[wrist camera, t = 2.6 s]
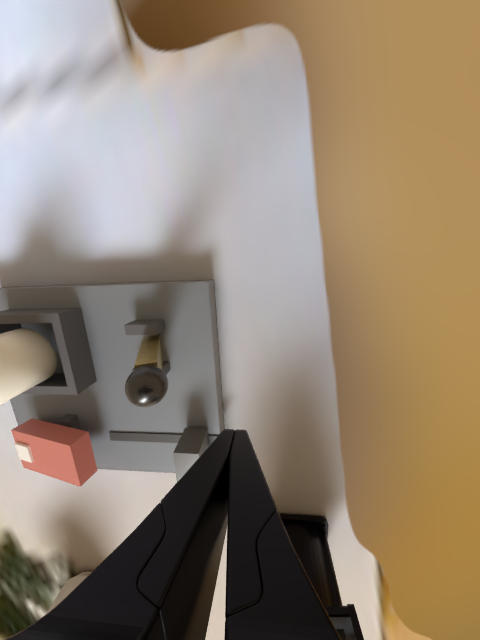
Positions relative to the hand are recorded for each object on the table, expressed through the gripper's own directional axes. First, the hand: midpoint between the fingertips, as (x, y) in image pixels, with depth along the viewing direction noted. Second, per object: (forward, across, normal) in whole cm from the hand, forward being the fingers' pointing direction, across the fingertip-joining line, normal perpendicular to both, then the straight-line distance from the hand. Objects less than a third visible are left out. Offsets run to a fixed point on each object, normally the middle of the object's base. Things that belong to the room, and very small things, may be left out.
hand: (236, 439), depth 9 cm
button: (+8, +17, 0) cm, 19 cm away
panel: (+12, +13, +4) cm, 18 cm away
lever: (+10, +8, 0) cm, 13 cm away
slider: (+10, +5, +9) cm, 14 cm away
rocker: (+9, +17, +9) cm, 21 cm away
